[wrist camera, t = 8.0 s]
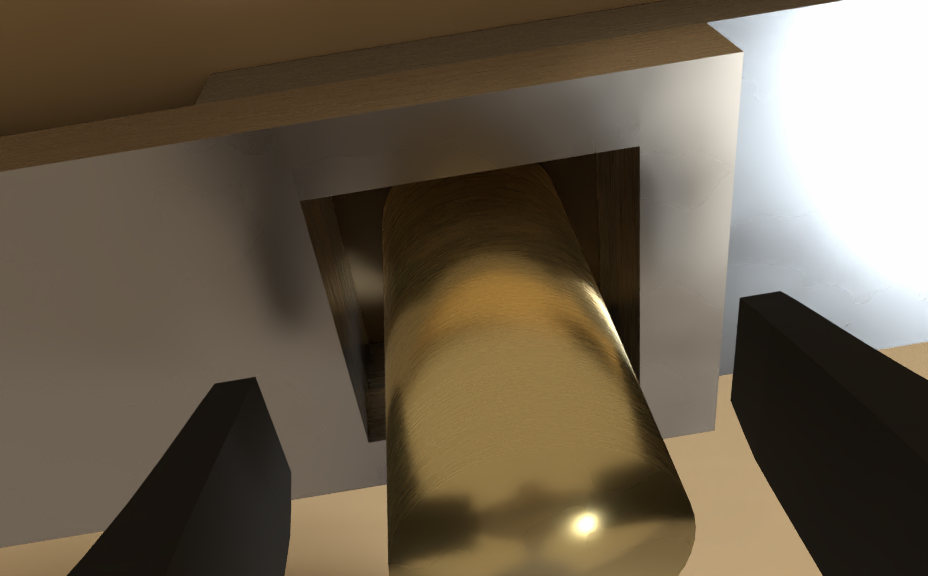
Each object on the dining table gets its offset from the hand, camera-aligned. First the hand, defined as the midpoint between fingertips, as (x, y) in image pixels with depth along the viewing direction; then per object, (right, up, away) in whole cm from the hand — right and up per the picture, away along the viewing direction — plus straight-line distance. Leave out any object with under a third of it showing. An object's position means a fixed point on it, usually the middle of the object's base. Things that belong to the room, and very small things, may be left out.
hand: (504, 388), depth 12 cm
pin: (0, +3, +4) cm, 5 cm away
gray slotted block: (0, +3, +4) cm, 5 cm away
